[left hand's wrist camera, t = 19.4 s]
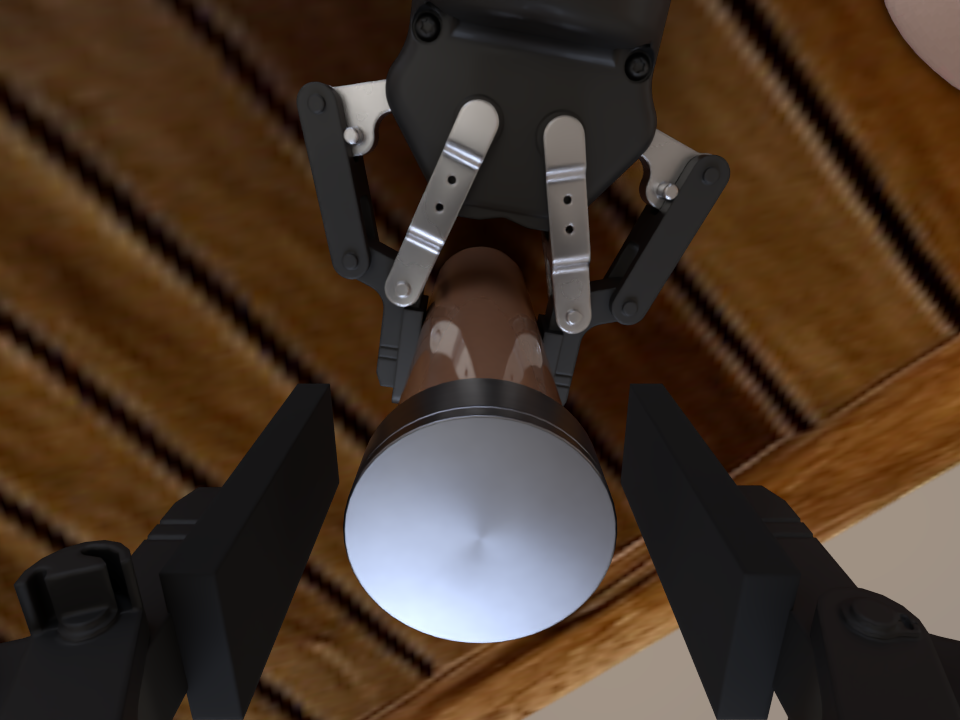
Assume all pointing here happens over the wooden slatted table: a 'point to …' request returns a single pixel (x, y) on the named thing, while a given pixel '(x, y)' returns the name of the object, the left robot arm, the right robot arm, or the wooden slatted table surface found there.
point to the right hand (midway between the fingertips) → (469, 403)
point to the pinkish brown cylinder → (480, 327)
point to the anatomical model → (931, 33)
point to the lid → (480, 513)
